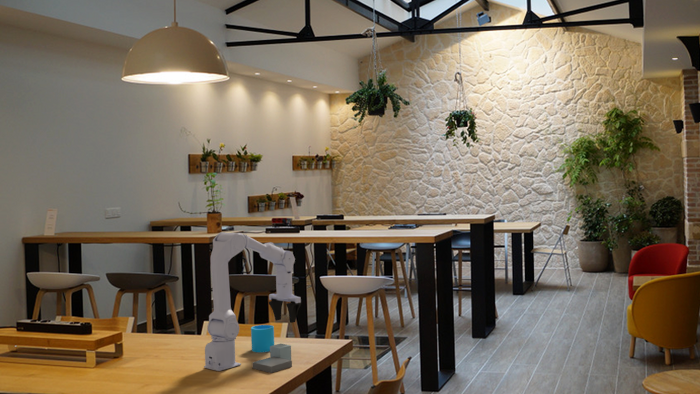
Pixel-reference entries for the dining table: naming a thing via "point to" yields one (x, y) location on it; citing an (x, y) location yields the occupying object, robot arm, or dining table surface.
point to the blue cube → (281, 351)
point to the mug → (262, 338)
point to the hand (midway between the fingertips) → (285, 321)
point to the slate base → (272, 364)
